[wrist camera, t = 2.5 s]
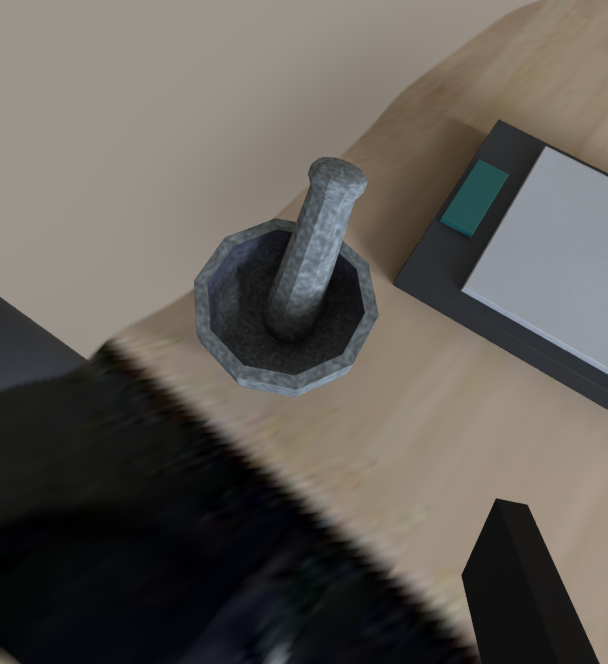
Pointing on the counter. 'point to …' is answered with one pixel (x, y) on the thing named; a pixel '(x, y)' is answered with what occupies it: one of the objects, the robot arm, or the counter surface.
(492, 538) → the robot arm
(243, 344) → the mortar and pestle
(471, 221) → the kitchen scale
